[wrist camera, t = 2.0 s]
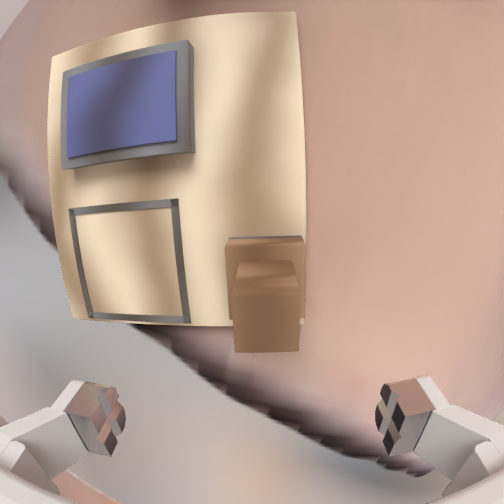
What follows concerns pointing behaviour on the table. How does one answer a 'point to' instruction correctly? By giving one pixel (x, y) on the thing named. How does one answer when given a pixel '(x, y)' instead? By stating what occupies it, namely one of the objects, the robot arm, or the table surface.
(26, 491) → the robot arm
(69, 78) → the board
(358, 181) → the table surface
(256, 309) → the stamp
